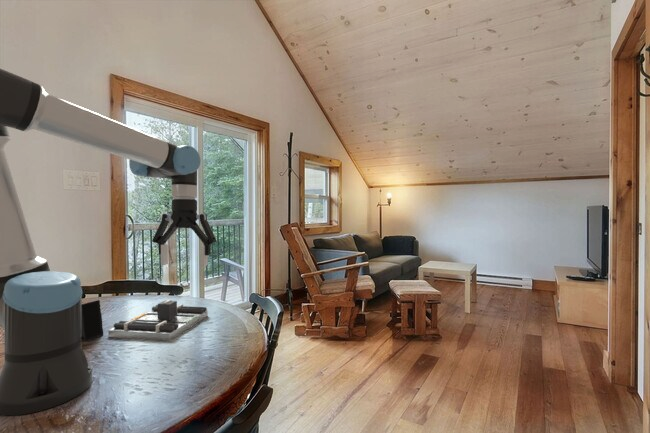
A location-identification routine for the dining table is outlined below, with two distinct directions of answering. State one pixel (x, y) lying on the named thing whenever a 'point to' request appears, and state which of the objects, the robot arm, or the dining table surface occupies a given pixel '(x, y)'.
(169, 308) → the dark grey block
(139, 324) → the cords left
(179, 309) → the cords right
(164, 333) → the panel
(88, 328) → the speaker
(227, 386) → the dining table surface
